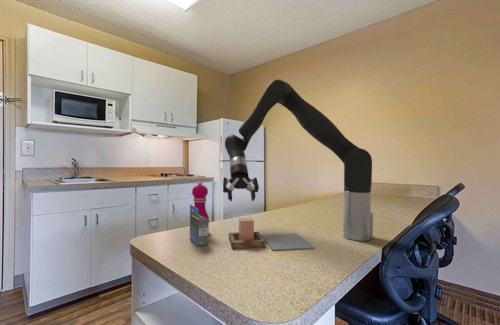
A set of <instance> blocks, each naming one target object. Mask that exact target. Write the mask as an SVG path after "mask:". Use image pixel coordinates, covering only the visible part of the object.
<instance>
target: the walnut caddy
mask: <svg viewBox="0 0 500 325" xmlns="http://www.w3.org/2000/svg"><path fill="white" fill-rule="evenodd" d="M228 241H229V245H230V247H231V250H233V249H235V250H236V249H253V248H255V249H257V248H266V241H265V240H264V239H263V237H262V236H261V233H260V232H259V231H254V240H249V241H239V231H238V232H236V231H235V232H228Z"/></svg>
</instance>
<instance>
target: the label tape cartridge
mask: <svg viewBox="0 0 500 325" xmlns="http://www.w3.org/2000/svg"><path fill="white" fill-rule="evenodd" d="M194 210H195V211H196V212H194ZM209 224H210V219H209V220H208V219H206V218H204V217H202V216H200V215H199V211H198V208H196V207H194V205H192V204H189V240H190V241H192V242H193V243H194V244H195V245H196V246H197V247H201V246H207V245H209V226H210V225H209Z"/></svg>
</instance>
